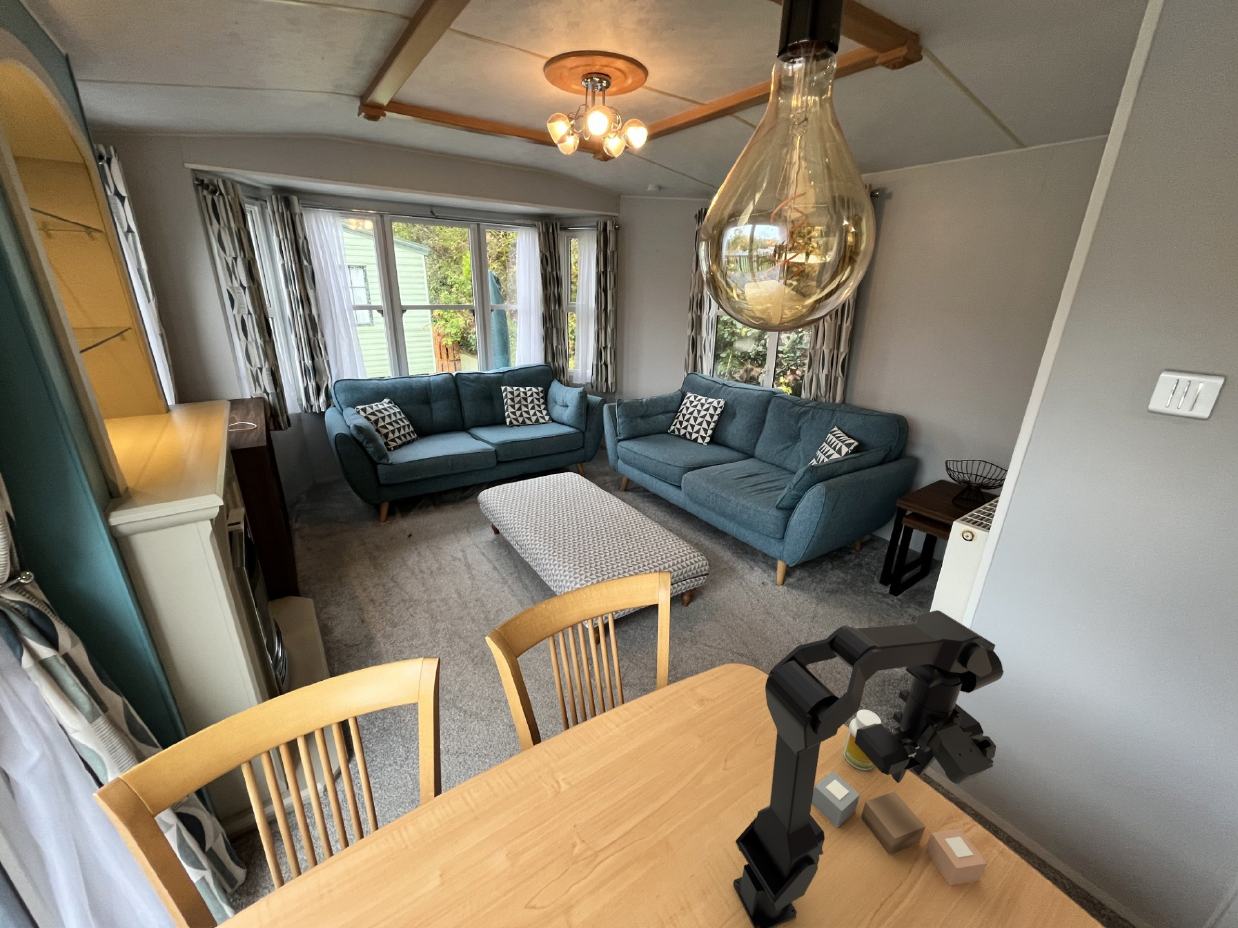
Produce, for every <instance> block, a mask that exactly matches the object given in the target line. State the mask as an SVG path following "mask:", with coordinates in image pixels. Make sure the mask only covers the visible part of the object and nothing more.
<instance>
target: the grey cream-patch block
mask: <svg viewBox="0 0 1238 928" xmlns="http://www.w3.org/2000/svg"><path fill="white" fill-rule="evenodd" d="M860 796H861V794H860V793H859V792H858V791H856V790H855V789H854V788H853V787H852V786H851V785H850V784H848V782H846V781H845V780H844V779H843V778H841V776H839V775H838V773H836V772H835V771H831V772H829V774H827V775H826V776H825V777H824V778H823V779H821V780H820V781H818V782H817V784H814V791H813V798H812V805H813V806H814V807H815V808H816V809H817V810H818V811H819V812H820V813H821V814H822V815H823V816H824V817H826V819H828V820H829V821H830V822H831V824H833V825H834V826H835V827H836V828H839V827H840V826H841V825H842V824H843V823H844V822H845V821H847V819H849V818H850V817H851V816H852V815H853V814H854V813H855V812H856V810H857V807H858V803H859V800H860V799H859V798H860Z"/></svg>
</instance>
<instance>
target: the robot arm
mask: <svg viewBox="0 0 1238 928" xmlns="http://www.w3.org/2000/svg"><path fill="white" fill-rule="evenodd" d="M995 647H996V644H995V643H993V642H991V641H990V640H988V639H987V638H985V637H983V636H982V635H980V634H979V633H978V632H976V631H974V630H972V629H970V628H969V627H967V626H965V625H964V624H962V623H961V622H959V621H957V620H956V619H955V618H952V617H951V616H949V615H947V614H946V613H944V612H943V611H941V610H932V611H928V612H924V613H921V614H919V615H918V616H917V618H916V620H915V623H911V624H910V623H909V624H897V625H885V626H873V627H872V626H871V627H857V628H856V627H852V626H849V625H842V626H840V627H838V628H836V629H835V630H834V631H833V632H832V633H831V634H830V635H829V636H827V638H824V639H820V640H816V641H811V642H808V643H804V644H800V645H797V646H796V647H795V648H794V649H793V650H791V651H790V652H789V653H788V654H787V655H786V656H784V657H783V658H782V659H781V660H780V661H779V662H777V664H775V665H774V667H772V669H770V672H769V673H768V676H767V678H766V681H765V686H764V689H765V690H764V691H765V698H766V699H765V700H766V706H767V709H768V711H769V714H770V716H771V719H772V721H773V723H774V726H775V728H776V741H775V749H774V750H775V751H774V761H773V770H772V781H771V790H770V791H771V792H770V801H769V805H767V806H765V807H763V808H761V809H760V810H758V811H757V813H756V814H757V815H756V817H755V818H754V819H753V820H752V821H751V822H750V823H749V824H748V826H747V827H746V828H745V829H744V830H743V831H742V833H741V834H740V835H739V836H738V837H737V838H736V840H735V844H736V847H737V849H738V851H739V852H740V853H741V855H742V857H743V858H744V860H745V861H746V862H747V864H744V865H743V870H742V876H740V877H738V878H735V879H734V880H733V882H732V883H733V884H732V885H733V888H734V890H735V892H736V894H737V896H738V898H739V900H740V902H741V904H742V906H743V908H744V910H745V912H746V915H747V916H748V918H749V920H750V922H751V925H752V926H753V928H758V927H759V928H775V927H777V926H779V925H781V924H784V923H785V922H788V921H791V920H793V919H795V918H796V917H797V910H796V908H795V906H794V905H793V902H795V901H797V900H798V899H800V898H802V897H803V896H805V894H806V892H807V890H808V889H809V887H810V884H811V883H812V881H813V880H814V877H815V876H816V874H817V872H818V870H819V866H818V864H819V861H820V856H821V855H824V851H823V846H824V842H825V839H826V838H825V837H826V835H825V831H824V830H823V829H822V827H821V826H820V824H819V823H818V822H817V821H816V819H815V818H814V817H813V816H812V814H811V810H812V805H813V804H812V798H813V791H814V787H815V785H816V784H815V783H816V776H817V770H818V764H819V763H818V762H819V756H820V748H821V743H823V742H825V741H827V740H829V739H831V738H832V737H834V736H836V735H837V733H838V731H839V729H840V728H841V727H842V726H843V725H844V724H845V723H846V722H847V721H848V720H849V719H851V718H852V717H853V716H854V715H855V714H857V712H858V711H859V710H860V707H861V702H862V698H863V694H864V690H865V685H866V682H867V681H868V680H870V679H871V678H872V677H873V676H874V675H875V674H876V673H877V672H878V671H885V670H892V669H901V668H905V671H906V672H907V673H908V674H910V675H911V678H910V681H909V685H908V688H907V689H903V690H900V692H899V694H898V698H900V699H901V700H902V701H903V702H904V703H903V706H902V708H901V710H899V711H895V712H893V715H892V719H893V720H894V721H895V722H896V723H897V724H898V725H899V726H898V727H895V728H892V730H891V732H892V733H893V734H892V733H891V732H890V731H889V730H888V729H887V728H886V727H885V726H884V725H883V724H882V723H881V724H872V725H869V726H866V727H862V728H859V729H857V732H856V735H855V742H854V743H855V744H856V745H857V746H858V747H859V748H860V749H861V750H862V752H863V753H864V754H865V755H866V756H867V757H868V758H869V759H870V760H871V762H872V763H873V764H874V767H876V768H877V770H878V771H879V772H880V774H881V773H882V774H883V775H887V776H890V775H891V777H892V779H893V780H894V781H895V782H896V783H897V784H899V783H901V781H902V780H903V778H904V777H905V775H906V773H907V771H908V770H911V769H912V770H913V771H914V772H915V774H916V775H918V776H921V775H922V774H923V773H924V772H925V771H926V770H927V769H928V768H929V767H930V765H932V764H933V763H934V762H935V760H936V762H937V763H938V764H939V765H940V767H941V768H942V770H943V772H945V776H946V777H947V778H948V780H949V781H950V782H951V783H953V784H956V785H959V784H961V783H964V782H967V781H968V780H971V779H975V778H976V777H978V776H979V775H980V774H982V773H984V772H985V771H987V770H988V769H991V768H993V767H994V764H993V763H994V762H995V761H994V760H993V758H995V756H996V755H995V754H996V750H997V745H996V744H995V742H994V741H993V740H992V739H991V737H990V736H989V735H984V729H983V728H982V725H981V723H980V722H979V721H978V720H977V719H976V718H974V717H973V716H972V715H971V714H970V713H969V712H967V711H966V710H965V709H964V708H962V707H961V706H960V704H959V705H958V704H957V701H958V697H959V695H960V692H963V693H966V694H970V693H972V692H975V691H976V690H979V689H982V688H984V687H986V686H989V685H990V684H992V683H995V682H997V681H999V680H1000V679H1001V678H1002V677H1003V676H1004V668H1003V663H1002V660H1001V659H1000V657H999V655H997V653H996V652H995V651H994V650H995ZM837 658H839V660H841V661H843V663H844V664H845V665H847V666H848V667H849V668H850V669H851V670H852V671H851V675H850V679H849V682H848V686H847V689H846V692H845V693H844V694H843V695H841V696H840V697H839V696H838V695H837V694H836V693H835V692H834V691H832V690H831V689H830V688H829V687H828V685H826V684H825V683H824V682H823V681H822V680H821V679H820V678H819V677H817V676H816V675H815V674H814V673H813V672H812V671H811V670H810V669H809V668H808V667H807V666H808V665H811V664H816V663H820V662H824V661H830V660H833V659H837Z"/></svg>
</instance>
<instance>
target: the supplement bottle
mask: <svg viewBox="0 0 1238 928" xmlns="http://www.w3.org/2000/svg"><path fill="white" fill-rule="evenodd" d="M872 724H882V720H881V718H880V716H878V714H877V713H875V712H874V711H871V710H868V709H858V711H857V712H856V716H855V718H853V719H851V721H850V723H849V726H848V730H847V733H846V734H847V735H846V737H845V741H844V746H843V756H844V758H845V760H846V761H847V763H848V764H849V765H850V766H852V767H853V768H855V769H857V770H860V771H870V770H872V769H873V768H874V767H875V765H874V764H873V763H872V762H871V760H870V759H869V758H868V757H867V756H866V755H865V754H864V753H863V752H862V750H861V749H860V748H859V747H858V746H857V745H856V744H855V743H854V742H855V735H856V732H857V729H859V728H862V727H866V726H869V725H872Z"/></svg>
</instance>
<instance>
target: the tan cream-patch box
mask: <svg viewBox="0 0 1238 928" xmlns="http://www.w3.org/2000/svg"><path fill="white" fill-rule="evenodd" d="M925 852H926V853H927V855H928V856H929V857H930V859H931V860H932V862H933V863H934V865H935V867H936V868H937V870H938V871H939V872H940V874H941V875H942V876H943V878H944V880H945V881H946V883H947V884H948V886H950V887H951V886H957V885H964V884H967V883H968V884H969V883H975V882H980V881H981V879H982V876H983V874H984V872H985V869H986V867H987V864H988V862H987V861H986V860H985V858H984V857H983V856H982V855H981V853H980V852H979V851H978V849H977V848H976V847H975V845H974V844H973V843H972V842H971V839H969V837H968V836H967V835H966V833H964V831H963V830H962V829H961V827H959V828H954V829H947V830H940V831H935V832H930V835H929V839H928V842H927V845H926V847H925Z"/></svg>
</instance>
